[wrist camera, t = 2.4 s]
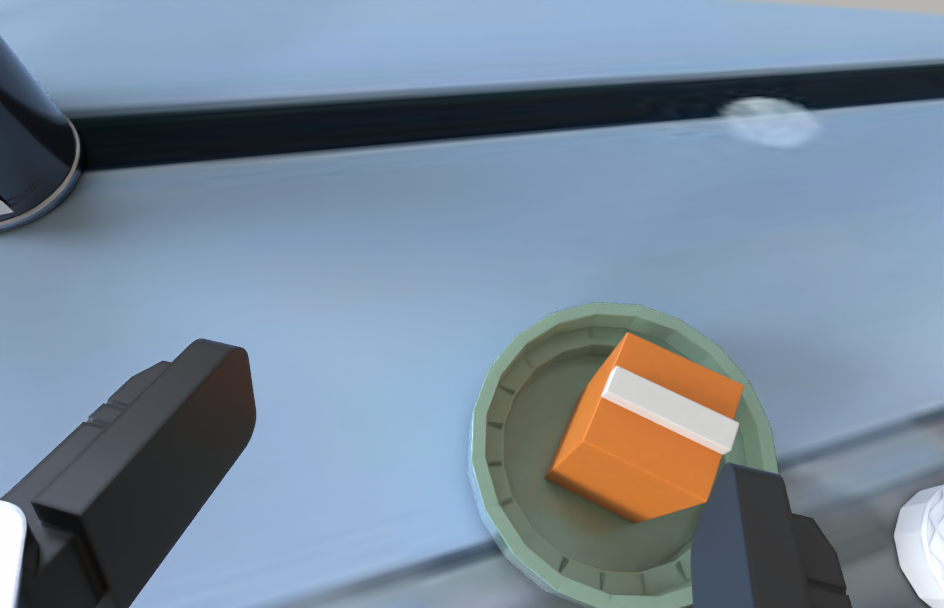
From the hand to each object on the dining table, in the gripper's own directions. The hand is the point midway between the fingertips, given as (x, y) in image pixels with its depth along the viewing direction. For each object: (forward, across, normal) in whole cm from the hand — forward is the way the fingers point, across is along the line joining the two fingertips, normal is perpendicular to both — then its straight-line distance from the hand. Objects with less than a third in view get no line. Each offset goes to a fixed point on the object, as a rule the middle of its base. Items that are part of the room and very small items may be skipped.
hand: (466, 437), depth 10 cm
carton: (+17, -5, +16) cm, 24 cm away
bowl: (+17, -5, +17) cm, 24 cm away
